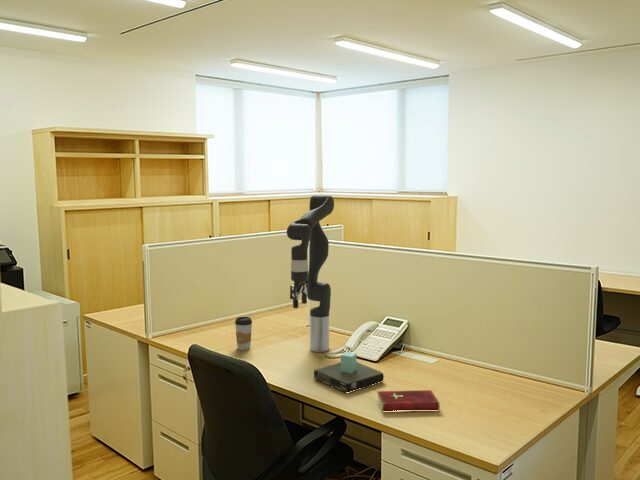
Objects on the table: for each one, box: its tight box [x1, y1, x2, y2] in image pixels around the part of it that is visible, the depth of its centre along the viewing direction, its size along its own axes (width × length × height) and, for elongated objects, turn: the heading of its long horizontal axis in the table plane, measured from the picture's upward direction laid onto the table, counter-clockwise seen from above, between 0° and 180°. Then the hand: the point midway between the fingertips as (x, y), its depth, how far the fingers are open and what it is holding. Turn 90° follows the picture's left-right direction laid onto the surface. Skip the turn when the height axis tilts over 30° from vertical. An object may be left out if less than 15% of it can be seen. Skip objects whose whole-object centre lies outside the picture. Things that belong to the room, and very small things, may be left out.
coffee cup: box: [234, 316, 253, 351], centre depth 282 cm, size 8×8×15 cm
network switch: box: [313, 361, 384, 393], centre depth 240 cm, size 23×23×5 cm
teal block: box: [340, 351, 357, 373], centre depth 239 cm, size 5×5×7 cm
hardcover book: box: [376, 389, 441, 412], centre depth 215 cm, size 12×21×4 cm, turn 94°
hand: (300, 305), depth 253 cm, fingers open, 8 cm apart
